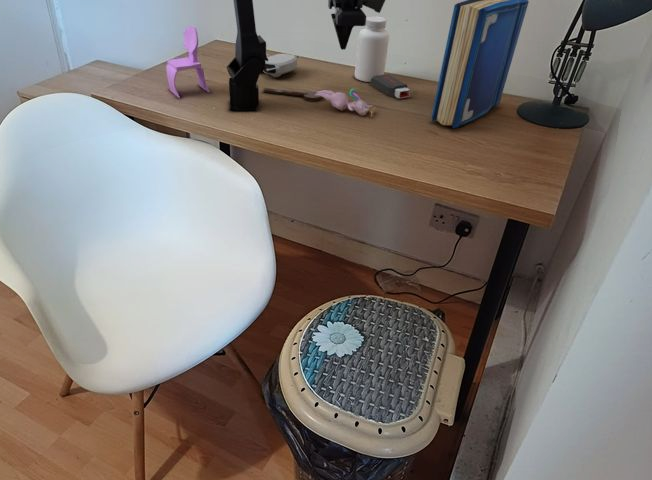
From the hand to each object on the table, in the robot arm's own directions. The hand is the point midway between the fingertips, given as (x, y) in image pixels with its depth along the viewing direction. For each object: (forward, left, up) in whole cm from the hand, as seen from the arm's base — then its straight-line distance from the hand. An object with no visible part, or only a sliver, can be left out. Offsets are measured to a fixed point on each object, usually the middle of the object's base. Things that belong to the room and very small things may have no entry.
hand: (343, 49), depth 125 cm
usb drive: (+14, +5, -12) cm, 19 cm away
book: (+29, -11, -12) cm, 33 cm away
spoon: (-12, +2, -12) cm, 17 cm away
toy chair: (-38, +5, -12) cm, 40 cm away
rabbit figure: (0, -8, -12) cm, 15 cm away
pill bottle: (+10, +15, -12) cm, 21 cm away
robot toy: (-17, +20, -12) cm, 28 cm away
